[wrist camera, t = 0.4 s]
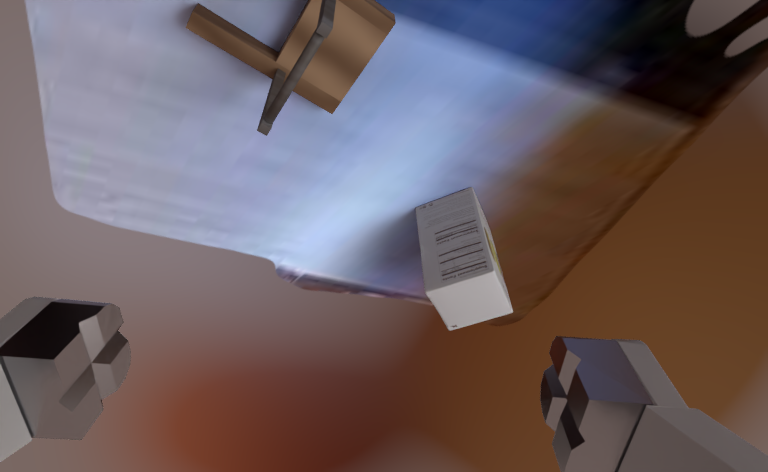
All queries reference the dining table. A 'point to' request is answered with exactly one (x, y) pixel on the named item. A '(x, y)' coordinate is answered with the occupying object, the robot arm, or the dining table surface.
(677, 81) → the dining table surface
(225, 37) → the wooden frame
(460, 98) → the dining table surface
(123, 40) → the dining table surface
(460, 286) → the supplement box
